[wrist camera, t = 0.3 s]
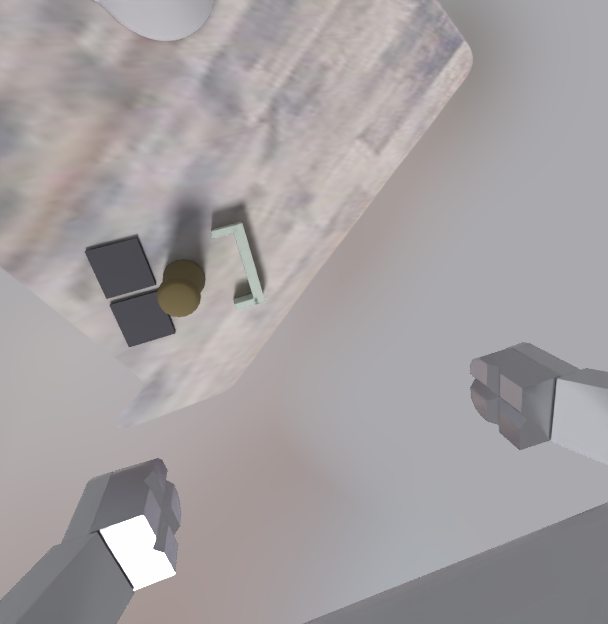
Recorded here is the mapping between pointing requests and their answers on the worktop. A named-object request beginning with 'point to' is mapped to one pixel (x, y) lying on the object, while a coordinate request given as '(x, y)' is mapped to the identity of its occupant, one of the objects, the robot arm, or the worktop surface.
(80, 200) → the worktop surface
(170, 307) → the cork
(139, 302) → the trap squares
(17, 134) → the worktop surface
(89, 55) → the worktop surface
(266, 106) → the worktop surface
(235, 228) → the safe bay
